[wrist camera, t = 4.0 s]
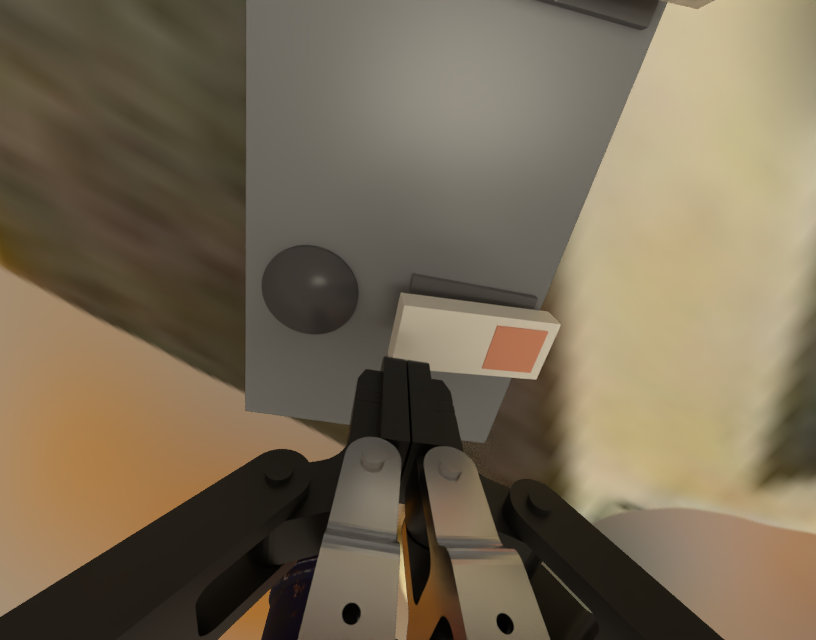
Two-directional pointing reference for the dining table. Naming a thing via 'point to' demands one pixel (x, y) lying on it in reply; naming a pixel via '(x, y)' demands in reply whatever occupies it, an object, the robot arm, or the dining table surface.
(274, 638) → the storage jar
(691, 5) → the rocker off
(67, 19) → the dining table surface
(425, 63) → the switch panel
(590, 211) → the dining table surface
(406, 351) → the rocker on
